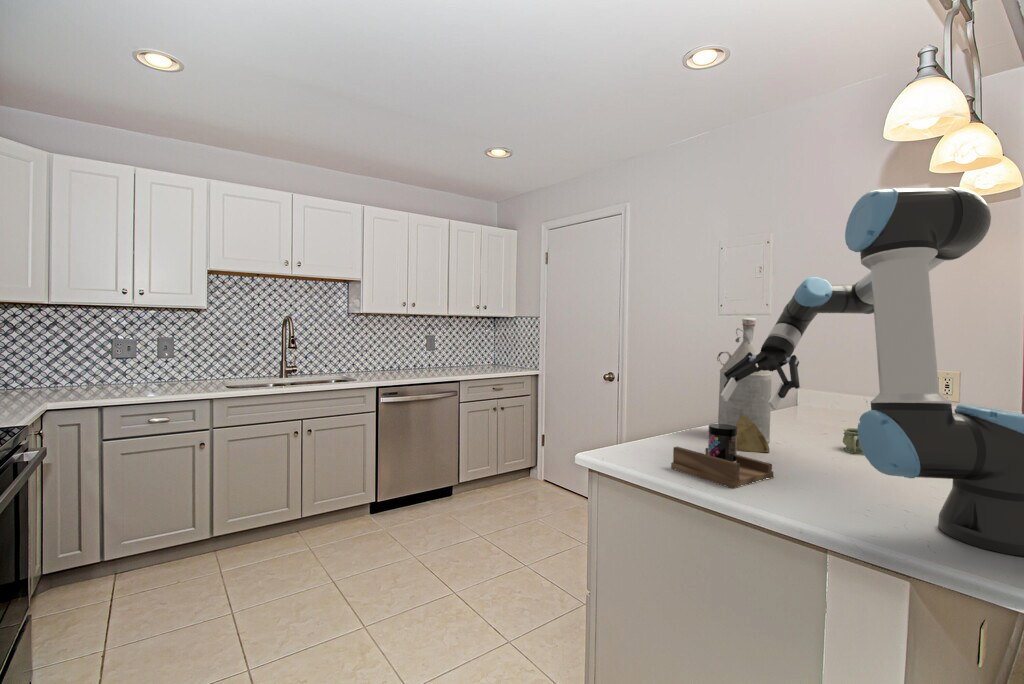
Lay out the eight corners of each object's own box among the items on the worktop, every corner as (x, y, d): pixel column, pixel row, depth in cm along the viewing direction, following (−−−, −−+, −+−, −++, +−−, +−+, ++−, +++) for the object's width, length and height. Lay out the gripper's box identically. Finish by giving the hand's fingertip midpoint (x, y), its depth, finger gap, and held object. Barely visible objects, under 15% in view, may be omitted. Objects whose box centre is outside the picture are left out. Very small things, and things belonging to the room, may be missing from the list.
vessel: (871, 458, 141) (872, 436, 140) (836, 452, 147) (836, 431, 147) (883, 451, 148) (884, 430, 148) (848, 445, 155) (849, 425, 155)
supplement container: (712, 461, 131) (713, 422, 131) (739, 466, 127) (740, 426, 126) (703, 467, 126) (704, 426, 125) (732, 472, 122) (733, 430, 121)
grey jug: (725, 431, 174) (728, 317, 172) (777, 440, 160) (781, 317, 159) (706, 436, 166) (709, 317, 164) (759, 447, 152) (763, 317, 151)
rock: (779, 444, 147) (749, 432, 156) (772, 423, 144) (741, 413, 152) (757, 469, 144) (728, 456, 153) (750, 448, 140) (720, 436, 149)
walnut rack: (710, 459, 138) (711, 440, 138) (773, 477, 123) (773, 455, 123) (671, 468, 130) (671, 447, 130) (733, 488, 114) (733, 465, 114)
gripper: (833, 355, 129) (800, 419, 122) (744, 350, 150) (711, 404, 143) (823, 335, 126) (788, 399, 119) (734, 333, 147) (700, 387, 140)
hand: (746, 402), depth 131 cm, fingers open, 13 cm apart
